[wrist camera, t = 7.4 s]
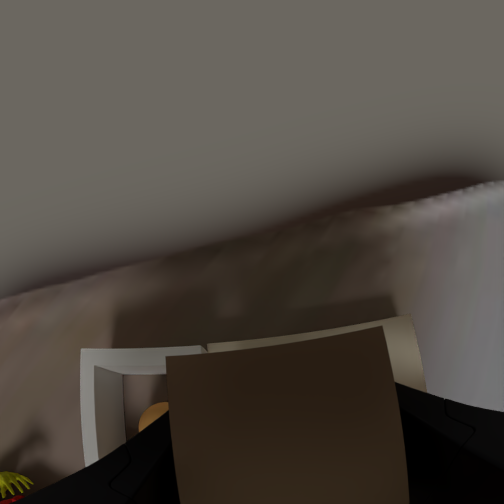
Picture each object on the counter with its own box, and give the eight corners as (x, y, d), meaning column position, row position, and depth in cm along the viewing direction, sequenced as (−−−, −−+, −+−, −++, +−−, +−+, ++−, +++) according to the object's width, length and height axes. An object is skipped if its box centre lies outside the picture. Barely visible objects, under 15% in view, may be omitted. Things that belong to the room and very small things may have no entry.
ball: (140, 442, 16) (192, 442, 17) (142, 466, 13) (204, 465, 14) (136, 394, 17) (191, 395, 18) (136, 411, 13) (202, 411, 15)
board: (420, 454, 15) (434, 457, 13) (227, 493, 14) (223, 502, 13) (398, 322, 19) (410, 313, 18) (212, 349, 19) (207, 343, 18)
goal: (213, 357, 19) (200, 345, 16) (226, 487, 15) (216, 505, 11) (110, 360, 19) (80, 348, 15) (118, 480, 15) (89, 491, 11)
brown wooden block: (328, 453, 13) (410, 518, 4) (244, 465, 13) (189, 551, 4) (317, 377, 15) (382, 325, 6) (235, 389, 15) (165, 356, 6)
